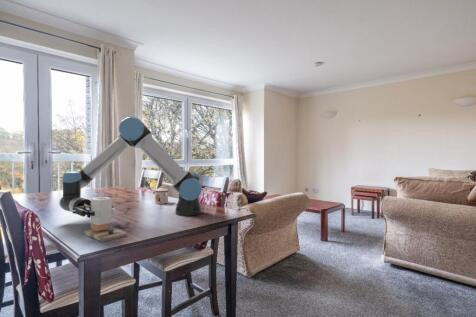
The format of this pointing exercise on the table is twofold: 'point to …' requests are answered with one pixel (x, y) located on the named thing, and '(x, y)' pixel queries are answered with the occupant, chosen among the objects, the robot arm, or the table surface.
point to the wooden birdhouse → (161, 195)
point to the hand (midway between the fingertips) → (107, 213)
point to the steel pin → (110, 228)
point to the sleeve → (106, 213)
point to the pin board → (105, 234)
